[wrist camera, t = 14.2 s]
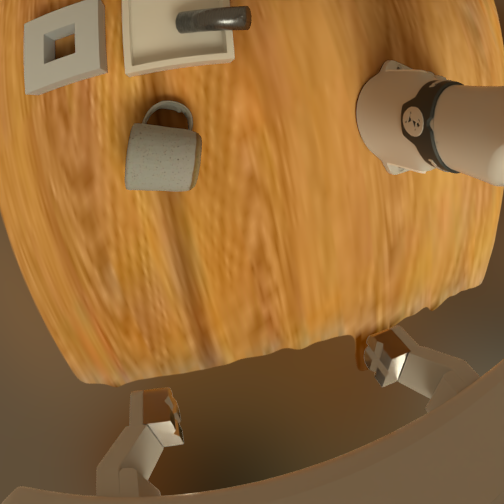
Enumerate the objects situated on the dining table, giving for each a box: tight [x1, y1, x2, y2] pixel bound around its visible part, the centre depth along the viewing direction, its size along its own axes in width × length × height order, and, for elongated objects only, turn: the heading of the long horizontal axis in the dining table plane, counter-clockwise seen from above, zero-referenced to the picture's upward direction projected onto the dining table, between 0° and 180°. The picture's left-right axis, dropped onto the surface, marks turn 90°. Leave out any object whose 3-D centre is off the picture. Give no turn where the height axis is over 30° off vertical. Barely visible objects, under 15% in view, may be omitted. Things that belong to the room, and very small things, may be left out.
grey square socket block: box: [24, 0, 108, 95], centre depth 24 cm, size 10×10×4 cm
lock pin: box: [176, 6, 251, 34], centre depth 26 cm, size 3×3×8 cm
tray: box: [122, 0, 235, 77], centre depth 27 cm, size 13×13×3 cm
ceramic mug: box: [125, 101, 202, 191], centre depth 31 cm, size 11×8×8 cm
